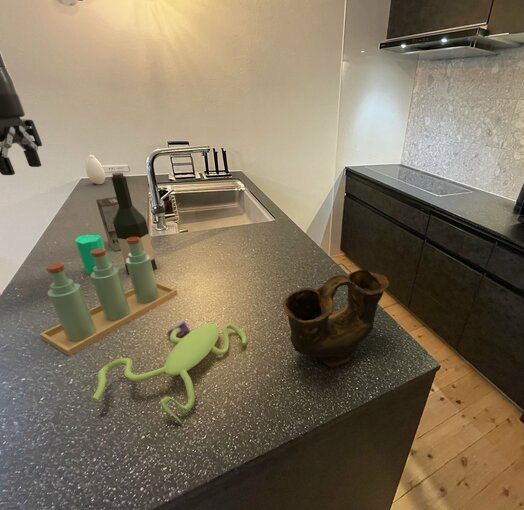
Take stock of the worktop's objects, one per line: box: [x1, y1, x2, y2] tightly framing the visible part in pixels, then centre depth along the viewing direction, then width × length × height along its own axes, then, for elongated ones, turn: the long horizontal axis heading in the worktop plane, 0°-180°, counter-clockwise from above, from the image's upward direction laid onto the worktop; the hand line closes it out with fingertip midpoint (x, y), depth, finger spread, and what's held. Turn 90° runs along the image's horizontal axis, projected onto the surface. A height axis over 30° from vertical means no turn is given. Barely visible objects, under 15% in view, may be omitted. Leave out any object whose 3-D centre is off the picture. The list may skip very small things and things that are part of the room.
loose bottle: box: [45, 262, 96, 341], centre depth 65 cm, size 5×5×18 cm
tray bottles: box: [90, 237, 159, 321], centre depth 75 cm, size 13×5×18 cm, turn 155°
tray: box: [39, 281, 179, 357], centre depth 76 cm, size 26×10×2 cm, turn 155°
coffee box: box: [96, 196, 121, 252], centre depth 105 cm, size 9×6×16 cm
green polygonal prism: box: [74, 233, 110, 275], centre depth 91 cm, size 6×6×12 cm
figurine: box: [91, 320, 248, 425], centre depth 62 cm, size 18×27×6 cm
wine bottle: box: [110, 172, 158, 276], centre depth 88 cm, size 8×8×30 cm
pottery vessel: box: [281, 269, 390, 369], centre depth 67 cm, size 25×11×20 cm, turn 127°
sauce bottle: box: [85, 150, 106, 185], centre depth 166 cm, size 8×8×18 cm
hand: (22, 170), depth 70 cm, fingers open, 8 cm apart
